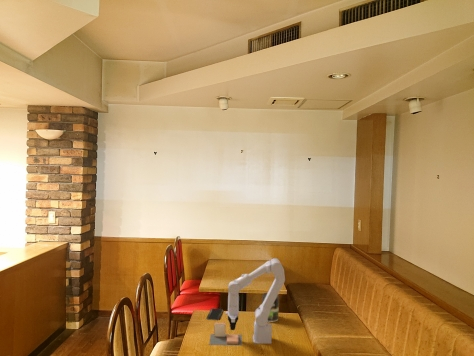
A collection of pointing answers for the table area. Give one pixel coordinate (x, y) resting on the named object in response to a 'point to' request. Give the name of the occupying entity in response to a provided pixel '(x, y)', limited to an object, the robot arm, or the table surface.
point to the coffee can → (273, 309)
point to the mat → (223, 340)
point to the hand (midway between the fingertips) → (232, 329)
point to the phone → (214, 314)
